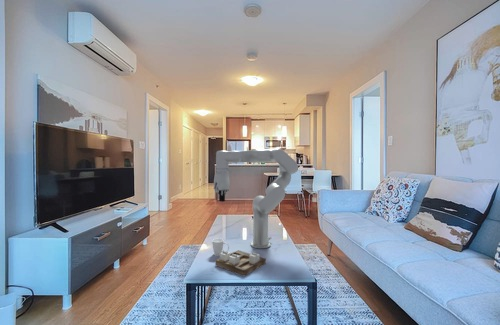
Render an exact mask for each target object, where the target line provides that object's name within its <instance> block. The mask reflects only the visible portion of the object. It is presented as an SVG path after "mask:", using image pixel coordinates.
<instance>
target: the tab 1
mask: <svg viewBox="0 0 500 325" xmlns="http://www.w3.org/2000/svg"><path fill="white" fill-rule="evenodd" d="M230 254H231V252H230V251H227V252H226V250H222V253H220V256H219V258H220V260H222V261H224V262H225V261H228V260H229V256H230Z"/></svg>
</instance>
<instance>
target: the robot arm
mask: <svg viewBox="0 0 500 325" xmlns="http://www.w3.org/2000/svg"><path fill="white" fill-rule="evenodd" d="M215 155H216V156H215V165H216V166H215V174H214V178H213V190H214V192H215V193H218V199H219V202H222V203H223V202H225V200H226V198H225V197H226V193H227V192H228V191H229V190H230V185H231V183H230V182H231V180H230V174H229V166H230V165H229V163H231V164H237V163H238V164H239V163H251V164H260V163H261V164H262V163H277V164H278V166H279V167H278V169H279V170H278V171H279V174H278V176H277V177H276V179H275V180H273V181H272V182H271V183H270V184H269V185H268V186H267V187H266V189H265V195H256V196H255V197H254V198H253V200H252V214H253V215H252V216H253V217H252V221H253V222H252V225H253V226H252V227H253V229H252V233H253V235H252V241H251V242H250V246H251V247H252V248H255V249H260V250H261V249H268V248H270V247H271V243H270V242H269V241H270V240H272V236H270V235H269V213H271V212H272V211H273V210H274V209H275V208H276V207H278V205H279V204H281V202H282V201H283V200H284V199H285V196H286V188H287V187H288V186H289V185H290V182H291V179H292V175H293V174H296V173H297V172H298V170H299V165H298V163H297V161H296V160H295V159H294V158H293V157H291V156H290V155H289V154H288V153H287V152H286V151H285V150H284V149H282V148H280V147H279V148H258V149H250V150H231V151H227V150H217V151H216V152H215Z"/></svg>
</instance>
